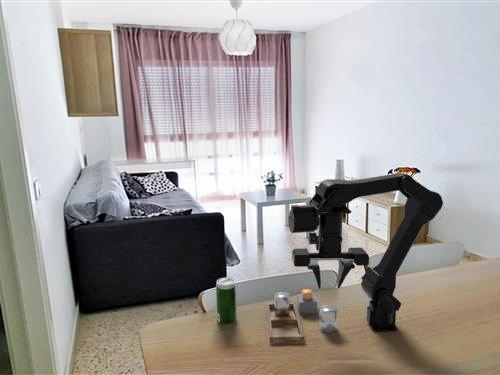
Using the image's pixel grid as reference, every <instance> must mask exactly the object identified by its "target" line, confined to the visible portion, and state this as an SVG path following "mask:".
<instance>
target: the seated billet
mask: <svg viewBox="0 0 500 375" xmlns="http://www.w3.org/2000/svg"><path fill="white" fill-rule="evenodd" d="M273 295H274V297H273V298H274V299H273V300H274V301H273V303H274V316H275V317H290V303H291V294H290V293H288V292H285V291H279V292H275V293H274V294H273Z"/></svg>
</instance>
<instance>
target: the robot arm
mask: <svg viewBox="0 0 500 375" xmlns="http://www.w3.org/2000/svg"><path fill="white" fill-rule="evenodd" d="M398 191H399V192H400V194H402V195H403V196H404V197H405V198H406V201H405V204H404V217H403V219H402V220H401V223H400V224H399V226H398V228H397V230H396V231H395V233H394V236H393V237H392V239H391V241H390V243H389V244H388V247H387V248H386V250H385V252H384V254H383V256H382V257H381V259H380V260H379V263H378V264H377V265H375V266H374V267H371V266H369V265H370V256H369V254H368V253H367V251H366V250H365V249H364V248H363V247H348V249H347V251H342V242H343V240H344V239H343V215H345V214H352V210H351V209H349V207H348V206H347V205H346V204H349V203H351V202H353V201H354V200H356V199H359V198H362V197H368V196H373V195H375V196H376V195H379V194H385V193H391V192H398ZM443 206H444V200H443V198H442V196H441V194H440V193H439V192H436V191H433V190H431V189H429V188H428V187H426V186H424V185H423V184H421V183H420V182H418V181H417V180H416V179H414V178H413V176H411V175H410V174H407V173H404V172H402V171H401V172H400V171H399V172H396V173H391V174H386V175H385V174H384V175H379V176H373V177H367V178H360V179H355V180H349V179H338V178H337V179H332V178H330V179H328V178H325V180H321V182H320V183H319V184H318V187H317V189H316V192H315V193H314V195H313V196H312V197H311V199H310V200H309V202H308V204H305V205H297V204H292V205H290V210H289V214H288V218H287V220H288V221H287V222H288V228H289V231H290V233H291V234H298V233H299V234H301V233H302V234H303V233H308V245H315V249H316V251H317V252H310V251H309V249H308V248H293V249H292V250H291V260H292V263H293V267H303V268H304V267H306V268H307V270H311V271H312V272H313V275H314V277H315V282H316V285H317V288H318V290H321V285H322V282H321V280H322V279H321V268H320V265H319V261H338V268H337V278H336V288H337V289H340V288H341V287H342V284H343V283H344V281H345V279H346V277H347V276H348V274H349V273H350V271H351V270H353V269H356V266H357V267H359V266H363V267H364V266H365V267H366V266H367V268H366V270H365V272H364V274H363V275H362V276H361V278H360V279H361V280H362V281H361V283H360V285H361V289H362V290H363V292H364V293H365V294H366V295H367V297H368V298H369V304H368V306H367V307H366V321H367V323H368V325H369V326H370V327H371V329H372V331H374V332H383V331H385V332H386V331H388V332H389V331H392V332H393V331H398V327H397V325H396V319H397V317H396V316H397V311H399V310H400V309H401V306H402V302H401V301H400V300H398V299H397V298H396V297H395V296H394V293H395V289H396V287H397V274H398V271H399V270H400V268H401V266H402V265H403V263H404V260H405V259H406V257H407V256H408V254H409V251H410V250H411V248H412V246H413V244H414V242H415V241H416V239H417V237H418V235H419V234H420V232H421V230H422V228H423V227H424V226H425V225H427V224H428V223H429V222H431V221H432V220H434V219H435V217H436V216H437V215H438V213H439V212H440V211H441V209H442V208H443ZM316 231H318V235H317V232H316Z"/></svg>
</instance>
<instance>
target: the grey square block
mask: <svg viewBox="0 0 500 375" xmlns="http://www.w3.org/2000/svg"><path fill="white" fill-rule="evenodd" d="M296 297H297V299H296V301H297V302H296V306H297V310H298V314H299V315H300V314H303V315H305V314H318V300H317V296H316V295H315V293H312V300H309V301H307V300H303V299H302V293H297V296H296Z"/></svg>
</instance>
